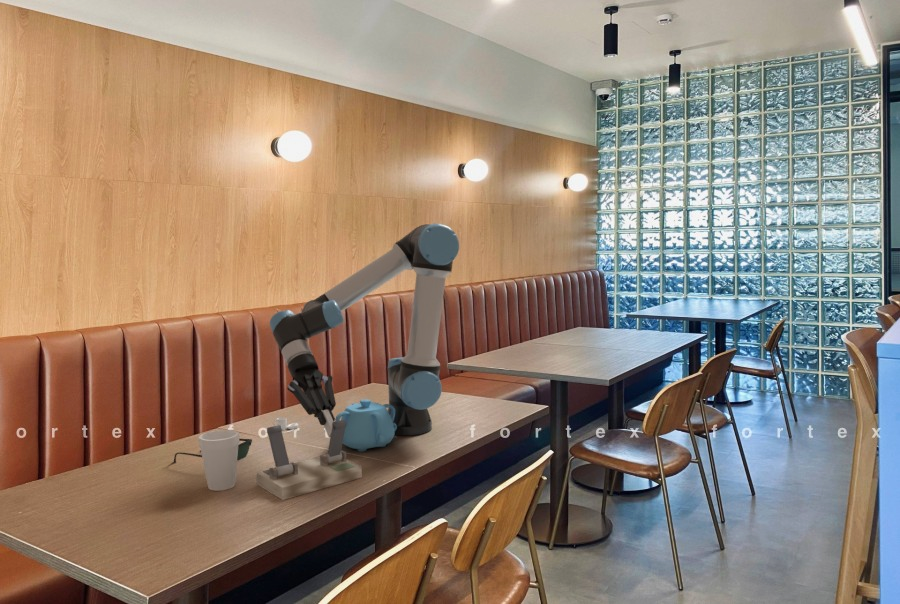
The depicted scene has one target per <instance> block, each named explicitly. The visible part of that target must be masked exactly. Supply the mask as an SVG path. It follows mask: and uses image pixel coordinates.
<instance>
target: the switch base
mask: <svg viewBox="0 0 900 604" xmlns="http://www.w3.org/2000/svg"><path fill="white" fill-rule="evenodd" d="M341 453H342V460H340V461H336V462H332V463H328V458H327V457H326V456H325V454H324V455H323V454H322V455H321V454H320V455H319V456H317V457H313V458H309V459H305V460H302V461H297V462H290V463H291V464H292V465H293V473H290V474H286V475H282V476H278V477H277V470H276V469H274V468H275V467H269V468H268V469H265V470H262V471H258V472H255V474H256V475H255V477H256V485H257V486H259V487H261V488H262V489H263V490H265V491H267V492H269V493H271V494H272V495H273V496H275V497H277V498H279V499H280V500H282V501H284V500H288V499H291V498H295V497H298V496H301V495H306V494H308V493H312V492H315V491H319V490H322V489H326V488H329V487H334V486H337V485H340V484H343V483H344V484H345V483H347V482H350V481H351V482H352V481H353V480H354V481H355V480H358V479H362V477H363V475H362V473H363V471H362V470H363V469H362V465H360V464H358V463H356V462H354V461H351V460H349V459H347V452H346V451H344V450H342V449H341Z"/></svg>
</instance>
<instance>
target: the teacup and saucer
mask: <svg viewBox="0 0 900 604" xmlns="http://www.w3.org/2000/svg"><path fill="white" fill-rule="evenodd" d="M287 421H288V420H287V417H285V416H283V417H277V418H276V419H273V421H272V424H273V426H278V425H280V426H281V428H282V434H286V433H290V432H292V431H295V429H297V428H298V427H299V423H297V422H293V423H289V424H287V423H288V422H287ZM274 422H276V425H275V423H274ZM286 429H288V431H285V430H286Z"/></svg>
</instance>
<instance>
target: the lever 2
mask: <svg viewBox="0 0 900 604" xmlns="http://www.w3.org/2000/svg"><path fill="white" fill-rule="evenodd" d="M346 425H347V424H346V421H345V420H341V419H340V421H336V422H335V421H334V422H333V423H332V432H331V437H329V444H328V447H327V448H328V450H327V454H324V456H326V457H327V458H328V463H332V462H336V461H340V460H342V453H341V450H342V447H343V438H344V432H345V427H346Z"/></svg>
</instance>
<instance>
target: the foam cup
mask: <svg viewBox="0 0 900 604" xmlns="http://www.w3.org/2000/svg"><path fill="white" fill-rule="evenodd" d="M239 439H240V432H239V431H237V430H236V429H235V430H234V429H217V430H212V431H210V430H209V431H207V432H204V433H201V434H200V435H199V436H198V446H199V449H200V450H201V453H200V455H202V457H201V459H202V464H203V468H204V469H203V470H204V473H205V479H206V483H207V487H208V490H211V491H217V492H218V491H225V490H226V491H227V490H228V489H232V488H233V487H235V485H236V478H237V477H236V476H237V466H238V460H237V456H238V445H239V444H240V441H239Z"/></svg>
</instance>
